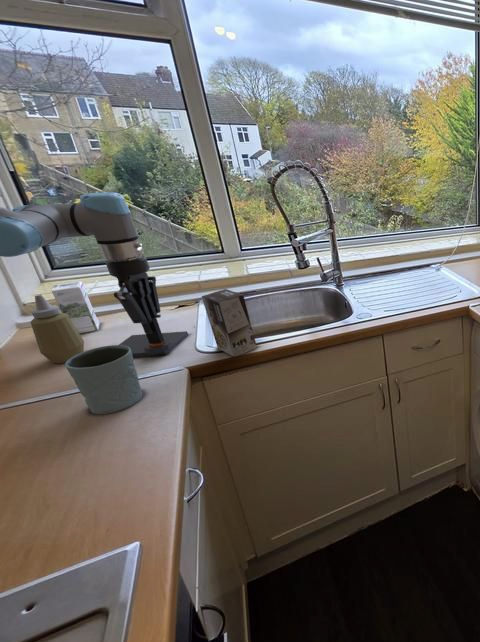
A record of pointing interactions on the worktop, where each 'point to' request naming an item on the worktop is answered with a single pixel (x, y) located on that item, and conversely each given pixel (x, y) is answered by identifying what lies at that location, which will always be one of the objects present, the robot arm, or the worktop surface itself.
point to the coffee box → (229, 321)
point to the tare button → (156, 344)
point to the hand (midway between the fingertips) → (156, 342)
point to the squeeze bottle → (55, 332)
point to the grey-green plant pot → (106, 378)
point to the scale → (144, 349)
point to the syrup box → (76, 306)
